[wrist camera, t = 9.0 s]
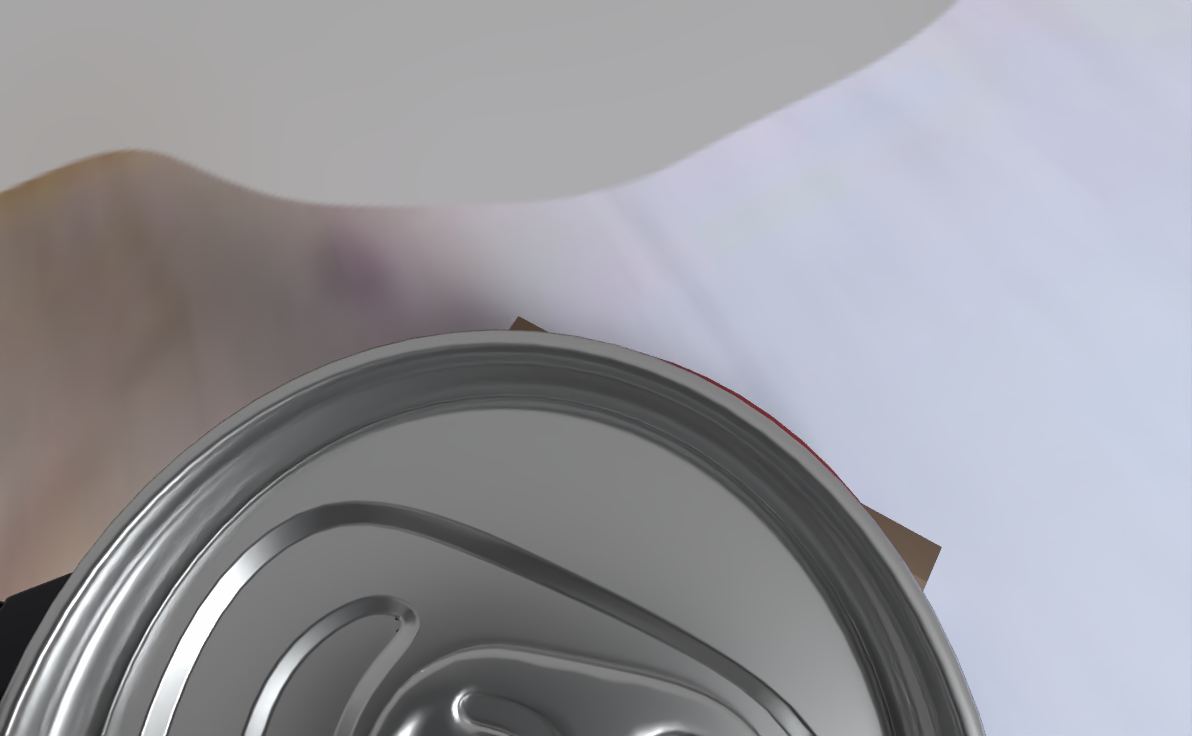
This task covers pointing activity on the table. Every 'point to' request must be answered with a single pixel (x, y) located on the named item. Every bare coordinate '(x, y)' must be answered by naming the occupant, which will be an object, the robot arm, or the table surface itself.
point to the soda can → (493, 567)
